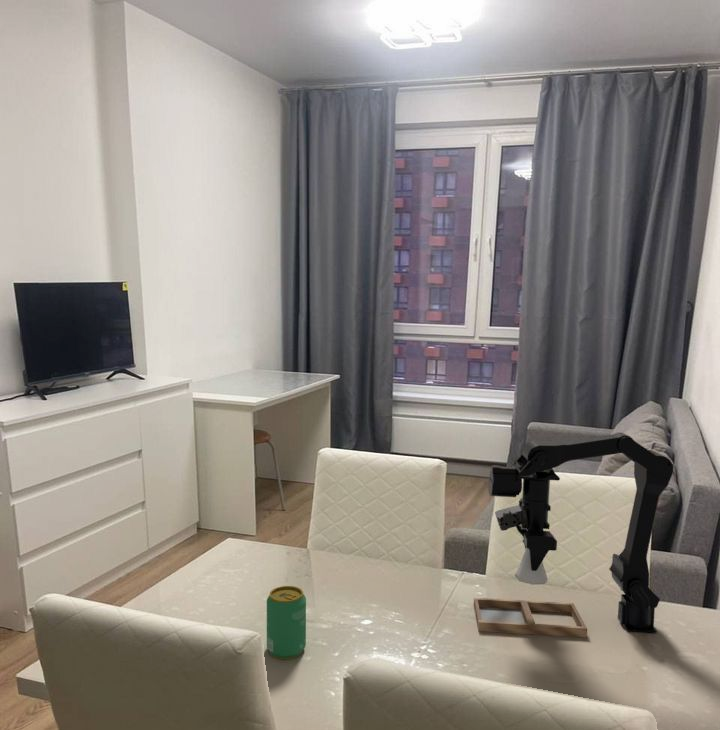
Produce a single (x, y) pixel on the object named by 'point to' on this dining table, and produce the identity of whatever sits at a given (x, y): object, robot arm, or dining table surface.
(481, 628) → the caddy
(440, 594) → the dining table surface
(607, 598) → the dining table surface
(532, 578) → the flask
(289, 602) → the beverage can
